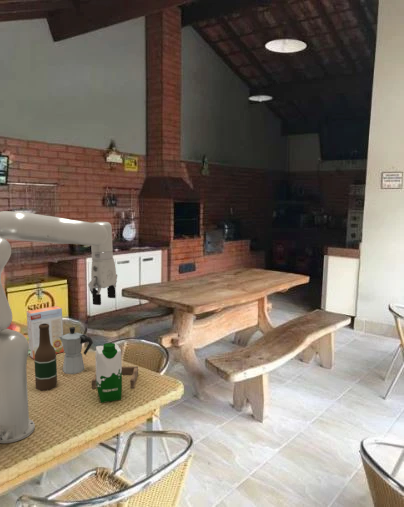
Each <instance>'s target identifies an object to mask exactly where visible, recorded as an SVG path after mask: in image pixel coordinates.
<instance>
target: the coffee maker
mask: <svg viewBox="0 0 404 507" xmlns="http://www.w3.org/2000/svg"><path fill="white" fill-rule="evenodd" d="M58 337H59V338H60V339H61V341H62V343H63V349H64V352H63V353H64V358H63V364H62V365H63V366H62V372H63V373H64V374H65V375H66V374H67V375H76V374H80V373H82V372H83V371H85V364H84V360H83V358H84V357H83V354H84V355H87V353H88V352H89V350H90V348H91V347H92V345H93V343H94V342H93V340H92V338H91V337H90V336H87V335H86V334H83V333H80V332H76V327H74V326H71V327H69V333H65V334H63V336H58ZM85 343H88V344H87V346H86V348H85V350H84V352H83V354H82V351H83V350H82V349H83V344H85Z"/></svg>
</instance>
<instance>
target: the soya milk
mask: <svg viewBox="0 0 404 507" xmlns="http://www.w3.org/2000/svg"><path fill="white" fill-rule="evenodd" d="M94 357H95V374H96V385H97V386H96V389H97V394H98V398H99V402H100V403H101V404H102V403H108V402H113V401H121V400H122V391H123V375H122V367H123V365H122V350H121V348H120V346H119V345H118V344H117V343H114V342H107V343H104V344H103V345H97V346H95V356H94Z"/></svg>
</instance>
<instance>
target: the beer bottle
mask: <svg viewBox="0 0 404 507" xmlns="http://www.w3.org/2000/svg"><path fill="white" fill-rule="evenodd" d="M39 329H40V337H39V347H38V349H37V351H36V353H35V359H34V376H35V377H34V378H35V379H34V380H35V389H36V390H38V391H40V392H43V391H50V390H53V389H55V388H56V387H57V384H58V368H57V354H56V351H55V349H54V347H53V346H52V345H51V343H50V336H49V324H46V323H45V324H40V325H39Z"/></svg>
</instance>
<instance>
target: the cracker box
mask: <svg viewBox="0 0 404 507" xmlns="http://www.w3.org/2000/svg"><path fill="white" fill-rule="evenodd" d="M45 323H46V324H49V336H50V343H51V345H52V346H53V347H54V349H55V351H56V355H57V354H61V353H64V349H63V343H62V341H61V339H60V338H59V337H58V336H63V335H64V328H63V326H64V325H63V308H62V307H60V306H58V305H55V306H48V307H42V308H36V309H31V310H27V311H26V325H27V338H28V337H29V340H28V339H27V341H28V345H29V349H30V350H31V354H30V355H29V354H28V357H30V358H32V359H33V360H35V353H36V351H37V349H38V347H39V337H40V329H39V325H40V324H45Z"/></svg>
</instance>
